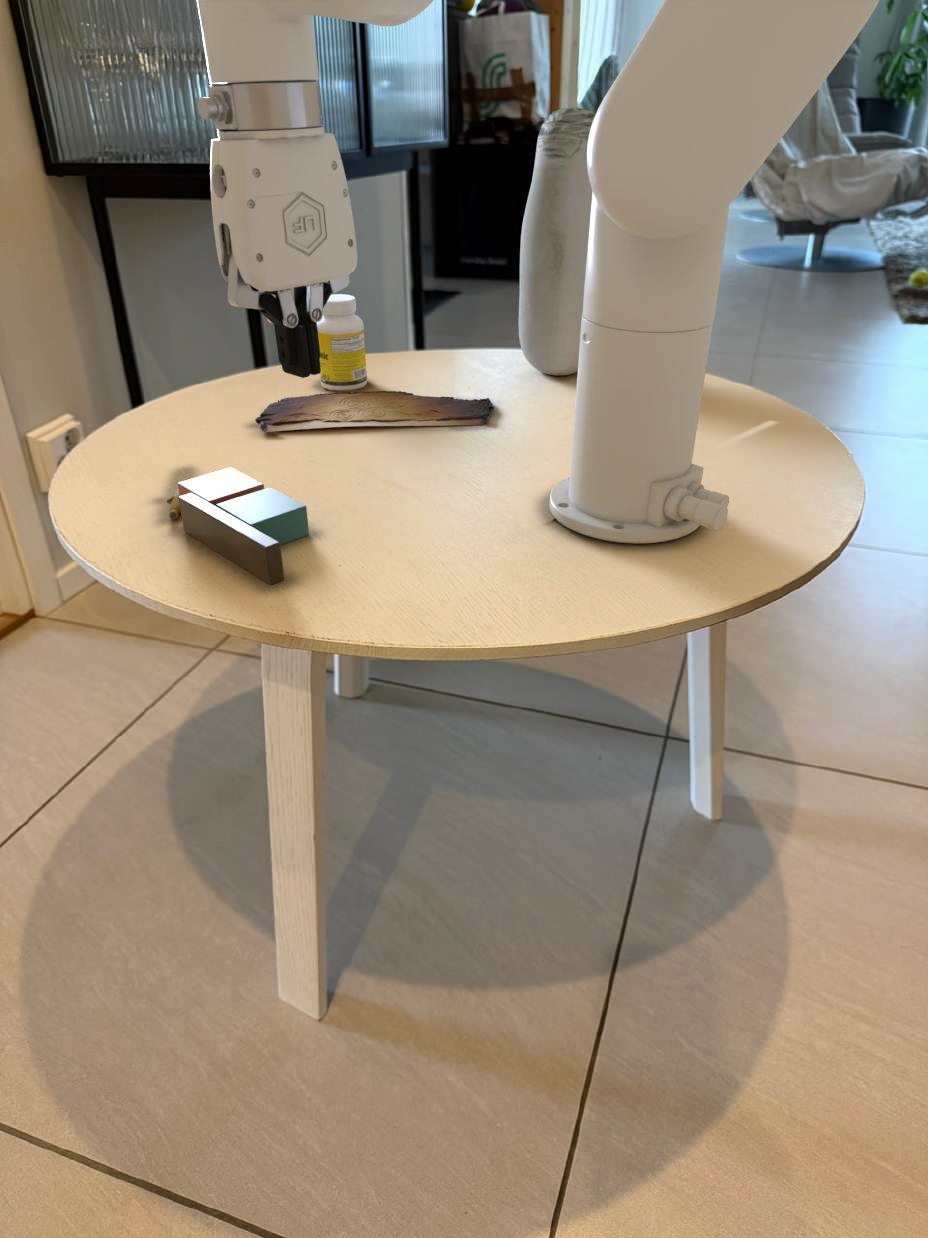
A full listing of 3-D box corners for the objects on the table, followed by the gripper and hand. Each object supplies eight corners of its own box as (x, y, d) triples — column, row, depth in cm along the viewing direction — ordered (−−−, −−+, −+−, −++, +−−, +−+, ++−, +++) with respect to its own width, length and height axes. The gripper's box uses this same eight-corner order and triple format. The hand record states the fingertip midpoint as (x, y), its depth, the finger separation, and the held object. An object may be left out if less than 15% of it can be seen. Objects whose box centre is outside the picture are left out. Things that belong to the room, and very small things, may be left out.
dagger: (173, 471, 79) (195, 466, 79) (177, 481, 80) (198, 475, 80) (158, 514, 70) (183, 507, 70) (163, 524, 70) (187, 517, 71)
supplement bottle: (319, 379, 104) (312, 293, 98) (365, 377, 104) (360, 291, 99) (321, 393, 99) (314, 303, 94) (369, 390, 100) (364, 301, 95)
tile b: (267, 511, 72) (263, 483, 71) (213, 530, 69) (208, 501, 68) (235, 494, 75) (231, 466, 74) (182, 510, 72) (177, 482, 71)
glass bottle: (515, 361, 111) (524, 105, 96) (596, 362, 111) (617, 106, 96) (516, 383, 103) (526, 108, 88) (603, 385, 102) (628, 108, 88)
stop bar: (284, 579, 62) (280, 542, 61) (270, 585, 61) (265, 547, 60) (197, 527, 69) (191, 492, 68) (183, 531, 69) (177, 496, 67)
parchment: (254, 433, 87) (253, 425, 87) (261, 400, 95) (260, 392, 95) (499, 427, 90) (499, 419, 89) (485, 396, 98) (485, 388, 98)
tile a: (309, 534, 68) (306, 505, 67) (254, 554, 65) (250, 524, 64) (274, 514, 71) (270, 486, 70) (219, 533, 68) (215, 504, 67)
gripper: (203, 118, 55) (249, 404, 65) (383, 109, 64) (400, 361, 73) (146, 118, 60) (196, 385, 69) (322, 110, 68) (345, 347, 78)
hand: (301, 372), depth 71 cm, fingers closed
